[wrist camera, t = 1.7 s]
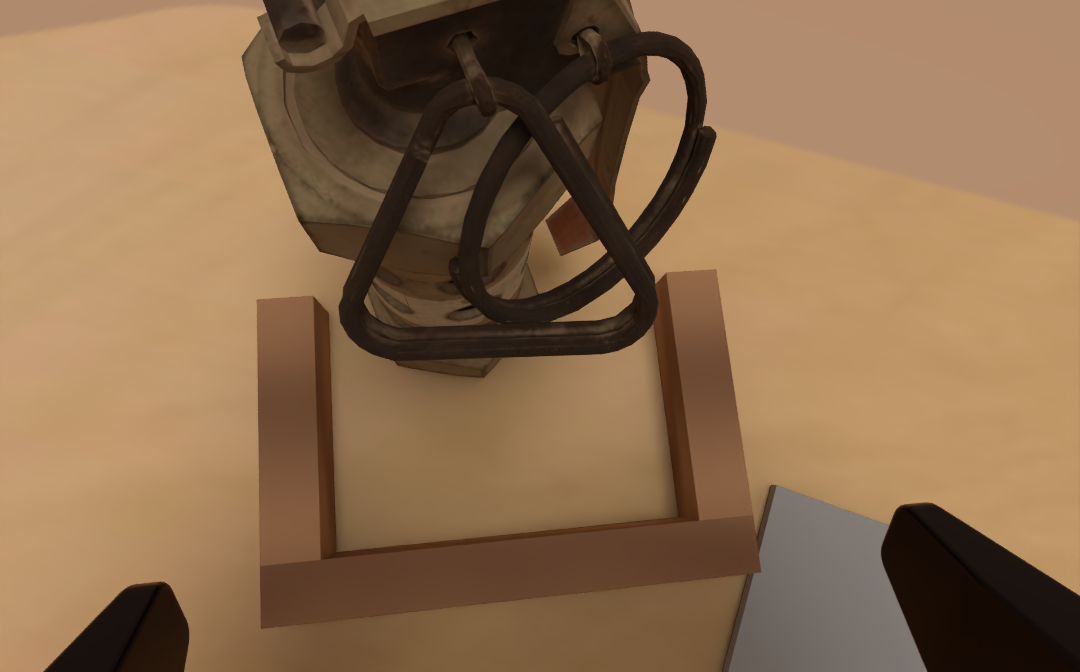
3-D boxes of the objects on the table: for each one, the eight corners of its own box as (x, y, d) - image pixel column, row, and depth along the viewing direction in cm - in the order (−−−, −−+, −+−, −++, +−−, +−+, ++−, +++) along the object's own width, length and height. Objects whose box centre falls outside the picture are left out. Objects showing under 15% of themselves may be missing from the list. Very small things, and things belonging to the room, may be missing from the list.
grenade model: (435, 464, 21) (326, 416, 6) (356, 253, 22) (102, -225, 7) (631, 385, 22) (953, 176, 7) (547, 188, 23) (670, -351, 8)
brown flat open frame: (734, 564, 21) (761, 572, 19) (282, 614, 19) (260, 628, 17) (695, 288, 22) (716, 269, 20) (277, 316, 21) (256, 299, 19)
